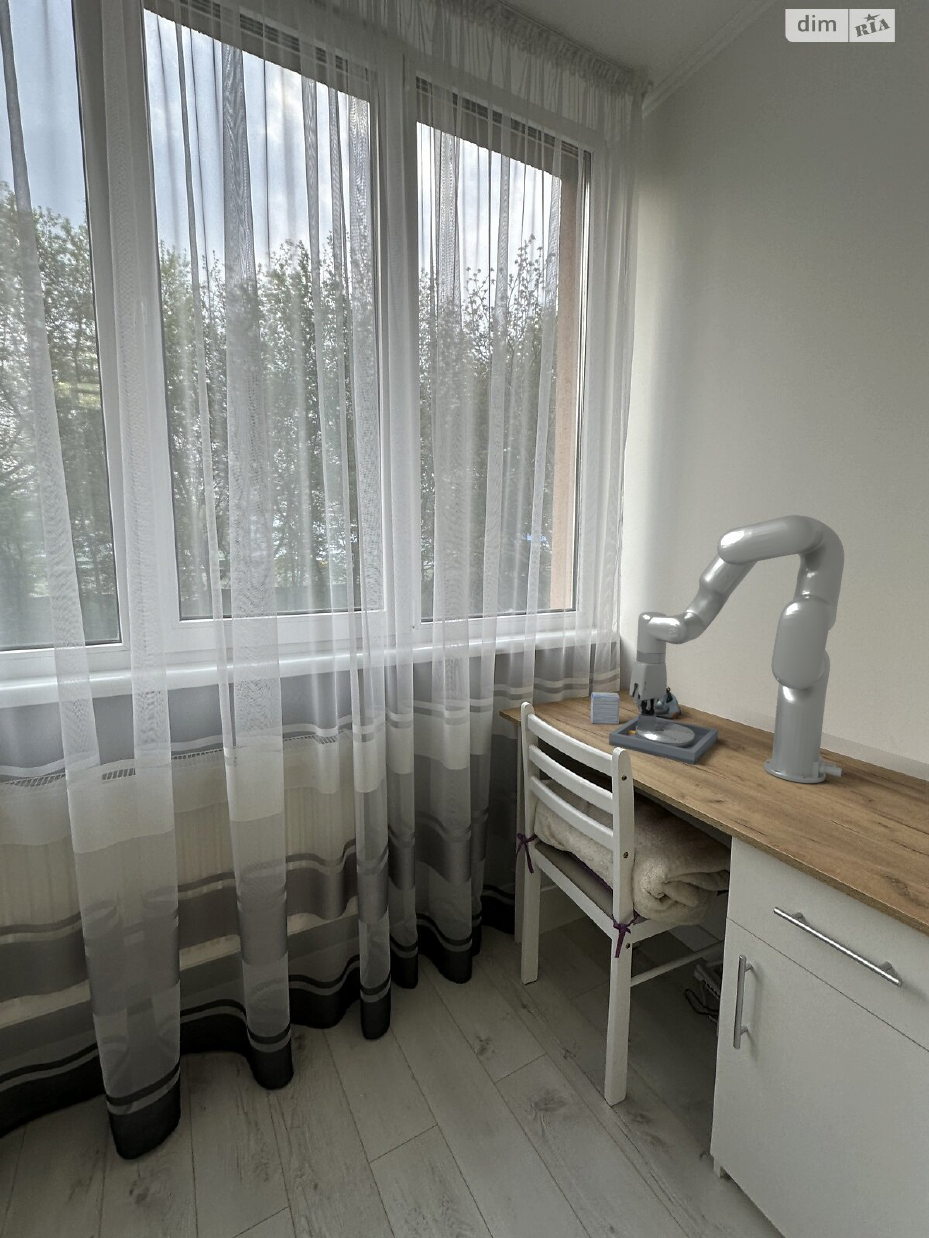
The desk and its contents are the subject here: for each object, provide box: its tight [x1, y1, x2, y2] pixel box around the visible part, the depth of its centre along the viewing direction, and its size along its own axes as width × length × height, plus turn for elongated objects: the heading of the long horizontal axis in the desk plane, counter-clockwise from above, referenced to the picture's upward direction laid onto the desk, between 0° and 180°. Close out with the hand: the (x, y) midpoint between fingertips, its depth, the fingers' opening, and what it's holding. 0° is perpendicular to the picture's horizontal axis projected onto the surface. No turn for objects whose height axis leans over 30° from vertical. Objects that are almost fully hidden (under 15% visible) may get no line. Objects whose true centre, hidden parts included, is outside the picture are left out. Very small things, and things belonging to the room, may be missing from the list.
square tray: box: [608, 715, 719, 766], centre depth 153 cm, size 22×22×3 cm
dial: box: [635, 713, 694, 748], centre depth 152 cm, size 15×15×6 cm
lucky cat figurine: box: [637, 685, 684, 720], centre depth 176 cm, size 15×12×14 cm
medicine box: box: [590, 691, 621, 725], centre depth 169 cm, size 8×4×9 cm, turn 84°
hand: (647, 722), depth 156 cm, fingers closed
